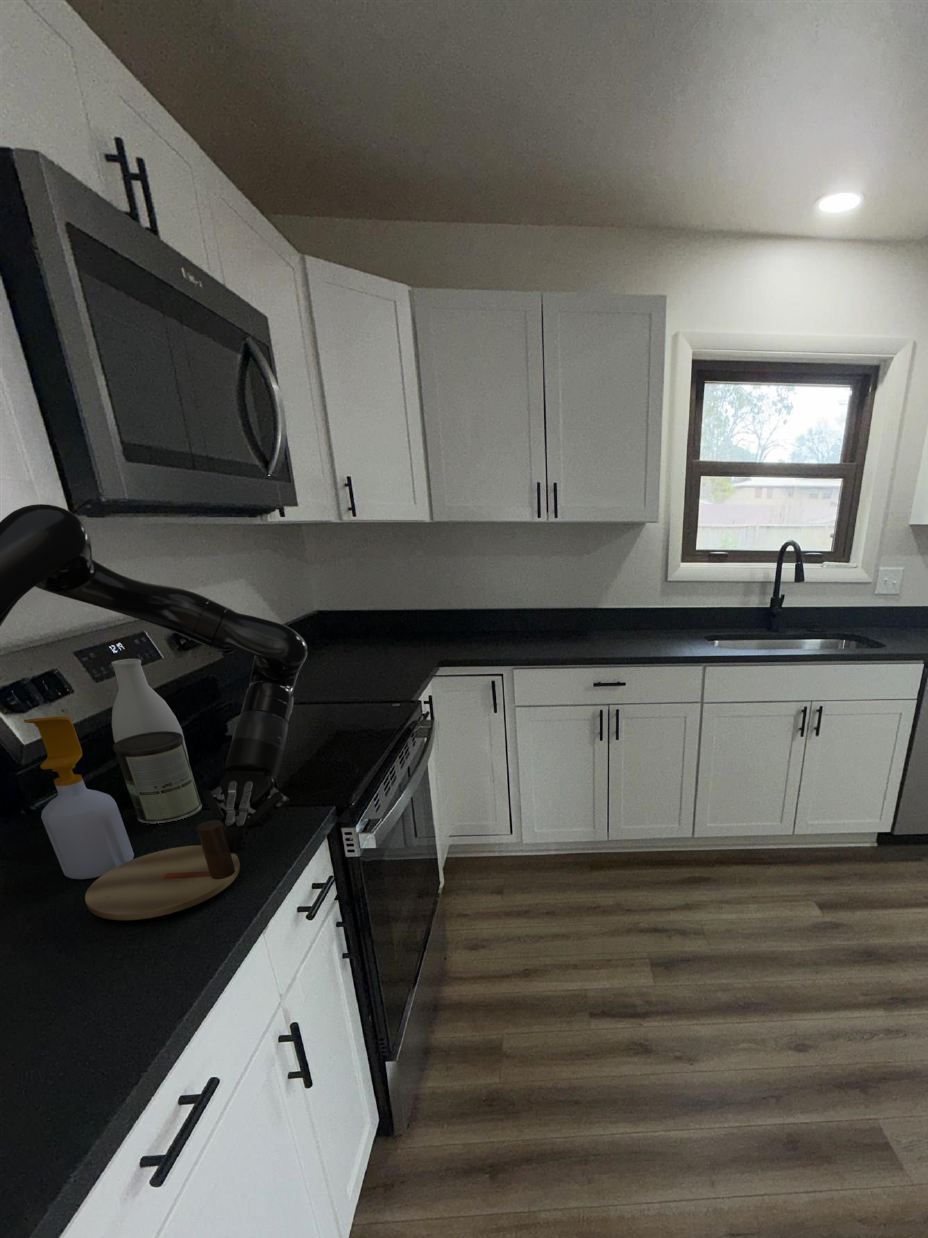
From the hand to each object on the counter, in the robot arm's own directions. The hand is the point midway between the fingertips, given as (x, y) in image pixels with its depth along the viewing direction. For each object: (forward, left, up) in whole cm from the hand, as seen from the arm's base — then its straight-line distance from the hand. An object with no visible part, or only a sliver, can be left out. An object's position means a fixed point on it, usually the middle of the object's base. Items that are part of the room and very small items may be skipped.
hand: (232, 852), depth 95 cm
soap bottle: (-24, 0, -5) cm, 25 cm away
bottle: (-38, +29, -5) cm, 48 cm away
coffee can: (-28, +19, -5) cm, 34 cm away
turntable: (-8, -4, -3) cm, 10 cm away
